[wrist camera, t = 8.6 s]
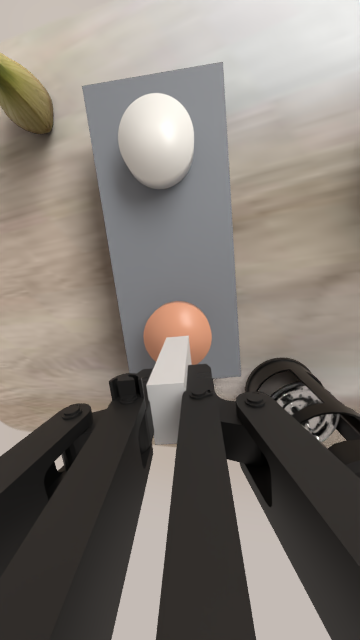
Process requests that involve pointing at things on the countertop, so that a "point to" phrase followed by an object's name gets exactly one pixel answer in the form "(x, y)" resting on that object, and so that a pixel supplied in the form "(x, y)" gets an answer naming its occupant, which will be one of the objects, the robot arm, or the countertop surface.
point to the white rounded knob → (157, 140)
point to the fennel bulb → (24, 98)
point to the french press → (313, 408)
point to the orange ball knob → (178, 329)
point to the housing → (170, 215)
